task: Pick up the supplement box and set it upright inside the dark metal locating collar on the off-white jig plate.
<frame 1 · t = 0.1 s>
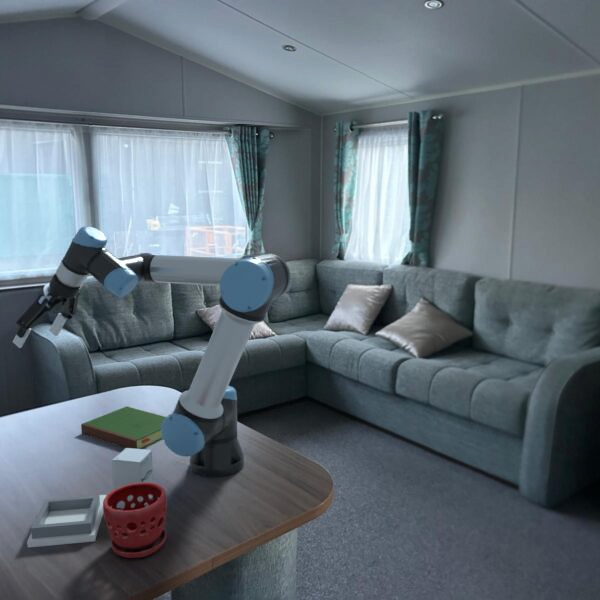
hand: (35, 338, 165), 36 cm above the table, tool tilted 35°, fingers open, 13 cm apart
hardcover book: (132, 434, 192), on the table
jig plate: (69, 522, 140), on the table
supplement box: (134, 502, 149), on the table
plant pot: (137, 546, 130), on the table
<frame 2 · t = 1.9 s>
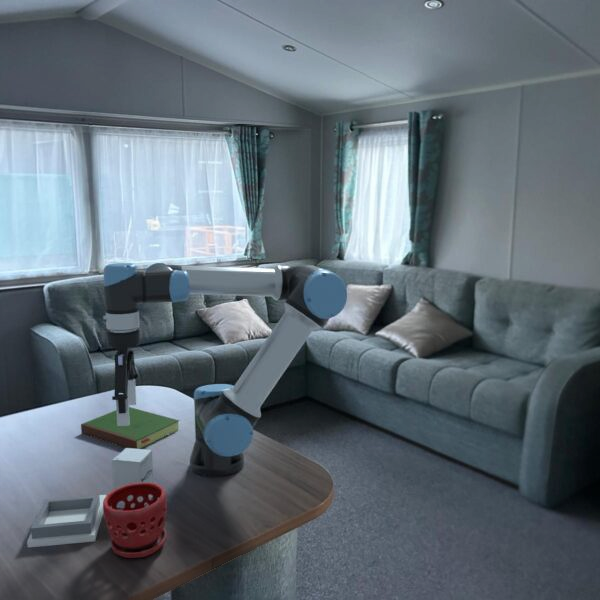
hand: (127, 414, 145), 23 cm above the table, tool pointing down, fingers open, 13 cm apart
nothing on the table moved.
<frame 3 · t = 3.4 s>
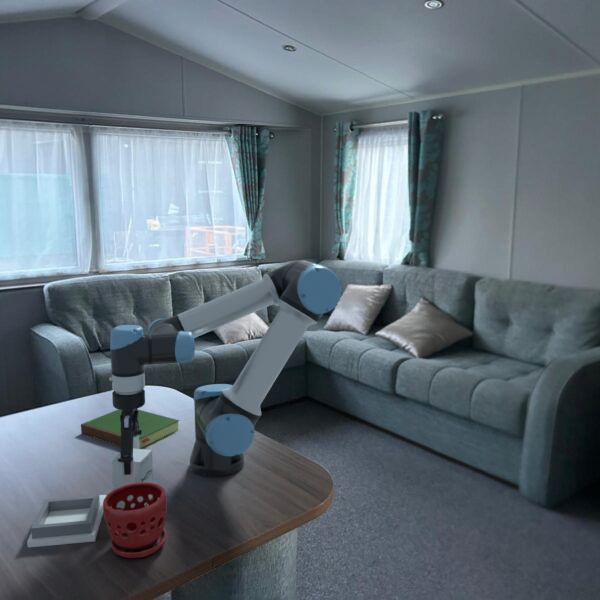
hand: (131, 472, 147), 8 cm above the table, tool pointing down, fingers open, 13 cm apart
nothing on the table moved.
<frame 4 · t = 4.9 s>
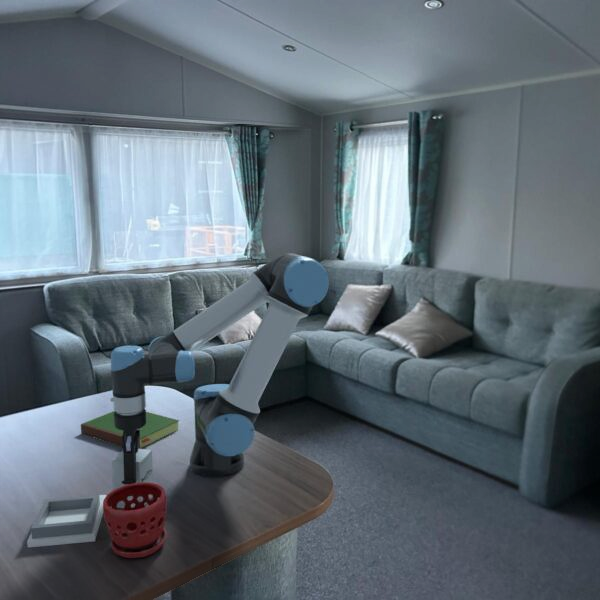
hand: (134, 496, 148), 1 cm above the table, tool pointing down, fingers closed on supplement box, 9 cm apart
supplement box: (134, 502, 149), on the table, touching gripper
everything else where it was.
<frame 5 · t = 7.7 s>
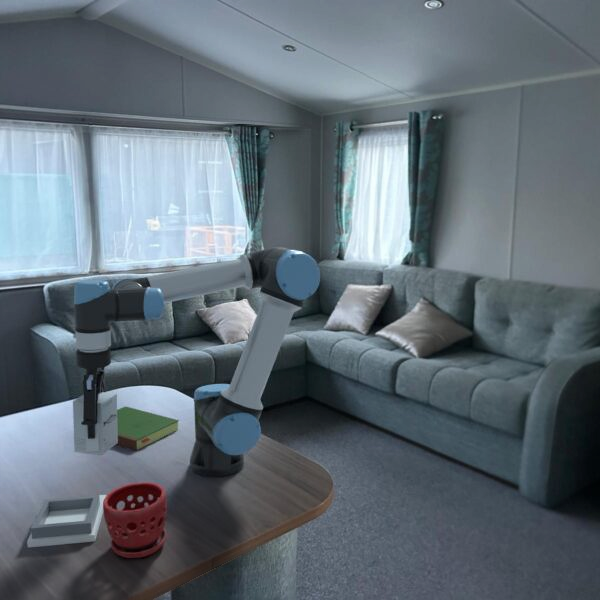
hand: (96, 441, 140), 18 cm above the table, tool pointing down, fingers closed on supplement box, 9 cm apart
supplement box: (96, 448, 140), point 17 cm above the table, touching gripper
everything else where it was.
when the fingers open (5 cm above the table, at t = 10.4 s): supplement box drops 2 cm, resting on jig plate.
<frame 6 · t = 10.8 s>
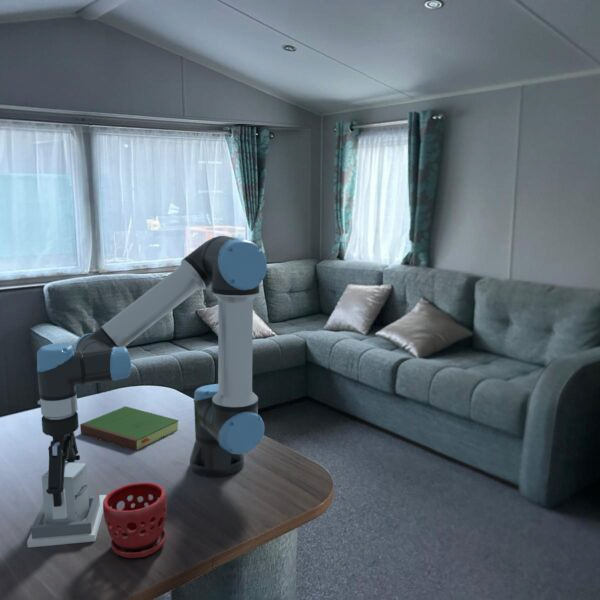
hand: (66, 502, 136), 6 cm above the table, tool pointing down, fingers open, 13 cm apart
supplement box: (68, 521, 138), point 1 cm above the table, touching jig plate
everything else where it was.
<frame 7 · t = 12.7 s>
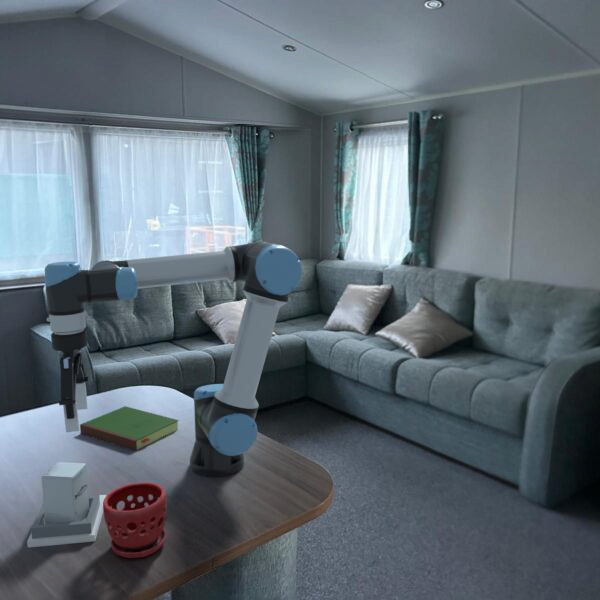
hand: (77, 419, 139), 24 cm above the table, tool pointing down, fingers open, 13 cm apart
nothing on the table moved.
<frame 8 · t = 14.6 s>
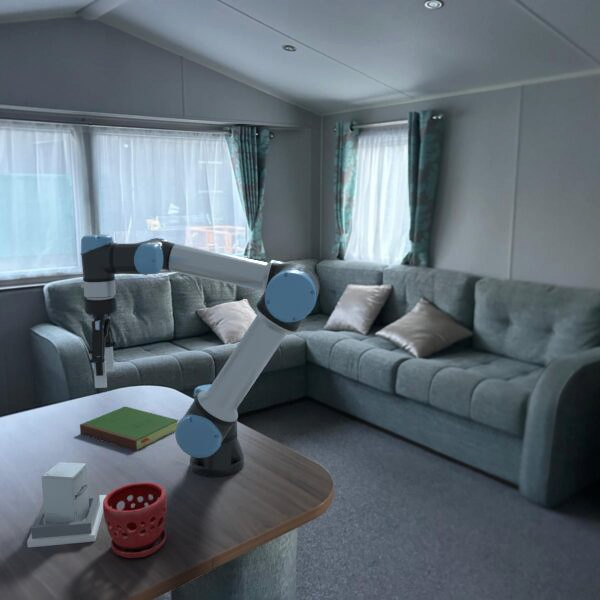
hand: (105, 378, 153), 29 cm above the table, tool pointing down, fingers open, 13 cm apart
nothing on the table moved.
at the end: supplement box 0.3 cm from the target spot on the jig plate, point 1.3 cm above the jig plate's base; supplement box tilted 0°; the gripper is holding nothing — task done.
